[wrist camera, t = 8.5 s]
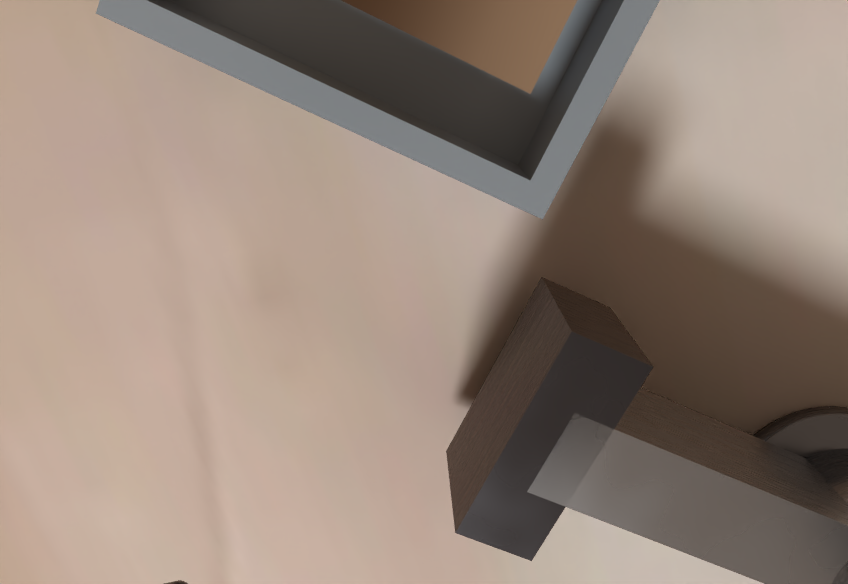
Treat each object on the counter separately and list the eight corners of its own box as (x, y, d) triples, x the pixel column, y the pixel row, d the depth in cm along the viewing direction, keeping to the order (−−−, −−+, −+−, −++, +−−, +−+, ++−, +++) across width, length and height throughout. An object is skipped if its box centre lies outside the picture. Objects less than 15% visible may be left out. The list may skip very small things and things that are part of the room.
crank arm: (944, 456, 19) (1044, 536, 16) (829, 600, 20) (900, 696, 17) (541, 277, 17) (571, 330, 14) (446, 450, 18) (455, 532, 15)
